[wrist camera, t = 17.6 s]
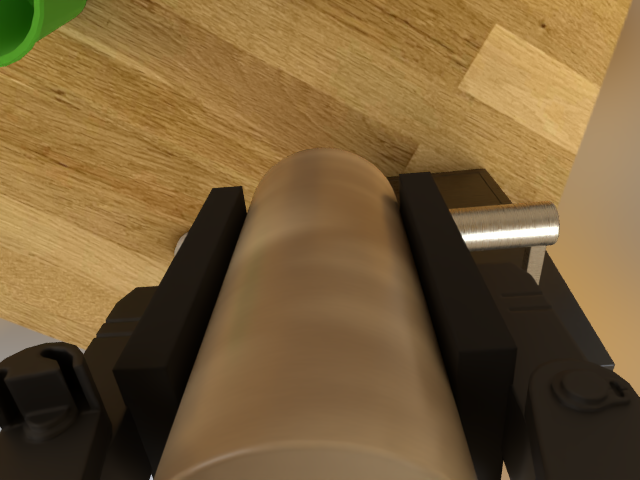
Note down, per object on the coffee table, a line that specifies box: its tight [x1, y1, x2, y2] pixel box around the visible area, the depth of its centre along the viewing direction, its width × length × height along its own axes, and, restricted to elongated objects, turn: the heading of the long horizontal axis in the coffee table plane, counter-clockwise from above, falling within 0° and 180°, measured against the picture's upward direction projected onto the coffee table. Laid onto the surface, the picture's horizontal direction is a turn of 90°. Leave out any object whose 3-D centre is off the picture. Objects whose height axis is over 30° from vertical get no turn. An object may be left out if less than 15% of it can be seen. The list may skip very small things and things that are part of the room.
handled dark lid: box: [449, 201, 615, 371], centre depth 28 cm, size 14×13×9 cm
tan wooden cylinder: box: [153, 148, 478, 480], centre depth 9 cm, size 4×4×9 cm
